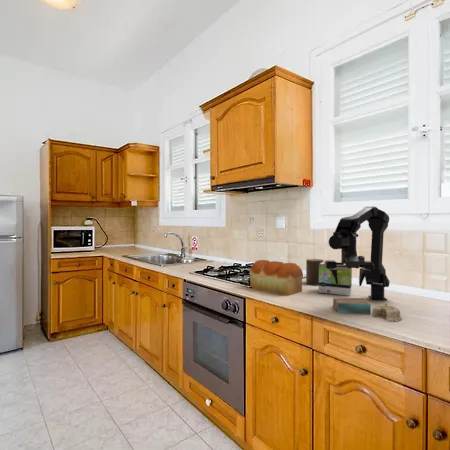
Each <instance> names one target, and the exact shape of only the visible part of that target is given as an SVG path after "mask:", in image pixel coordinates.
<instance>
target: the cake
mask: <svg viewBox="0 0 450 450" xmlns="http://www.w3.org/2000/svg"><path fill="white" fill-rule="evenodd" d="M372 312H373V313H372V314H371V315H372V317H373V318H374V316H375V317H382V318H385V317H386V318H385V321H386V320H389V322H398V321H402V320H403V319H402V316H401V312H400V309H399V308H398V307H396V306H392V305H388V304H387V303H385V304H384V305H383V304H380V305H379V304H378V305H376V306H374V308H373V309H372ZM390 320H392V321H390ZM394 320H395V321H394ZM396 320H397V321H396Z"/></svg>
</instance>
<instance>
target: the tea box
mask: <svg viewBox="0 0 450 450" xmlns="http://www.w3.org/2000/svg"><path fill="white" fill-rule="evenodd" d="M324 263H325V261H324V262H321V263H320V264H319V284H318V285H317V286H318V293H321V294H322V293H324V294H332V295H338V296H339V295H340V296H348V297H350V295H351V293H352V280H353V272H352V271H353V268H347V267H336V269H337V278H338V285H336V282H335V280H334V277H333V274H332V272H331V271H330V270H328V269H327V268H325V267H324ZM344 265H345V264H344Z"/></svg>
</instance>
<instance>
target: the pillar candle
mask: <svg viewBox="0 0 450 450" xmlns="http://www.w3.org/2000/svg"><path fill="white" fill-rule="evenodd" d="M305 261H306V264H305V265H306V267H305V268H306V269H305V271H306V274H305V275H306V276H305V279H306V280H305V282H306V284H308V285H312V286H318V284H319V264H320V263H321V262H325V260H324V259H320V258H319V259H317V258H308V259H306V260H305Z"/></svg>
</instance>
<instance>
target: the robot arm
mask: <svg viewBox="0 0 450 450" xmlns="http://www.w3.org/2000/svg"><path fill="white" fill-rule="evenodd" d="M364 222H368V228H369V229H370V230H371V245H370V248H371V249H370V261H369V260H365V256H364V255H358V253H357V238H358V237H359V236H360V235H359V234H358V233H357V232H358V231H359V230H360V229H361V228H362V227H361V225H362V224H363V223H364ZM389 222H390V216H389V214H388V213H387V212H385V211H383V210H381V209H379V208H378V207H377V206H371V205H370V206H365V207H363V209H361V210H359V211H358V212H356V213H355V214H353V215H351V216H345V217H341V218H340V219H339V221H338V223H337V225H336V228H335V230H334V231H333V232H332V235H331V236H330V237H329V239H328V246H329V248H331V249H332V250H340V251H341V252H340V253H341V255H340V256H341V259H340V262H339V261H338V262H337V261H336V260H329V259H328V260H327V259H326V260H324V262H325V263H324V267H325V268H327V269H328V270H330V271H331V272H332V274H333V277H334V280H335V282H336V285H338V278H337V269H336V267H347V268H352V269H359V273H358V274H359V277H358V285H359V287H361V286H362V284H363V282H364V280H365V282H366V285H369V286H370V295H367V297H368V298H369V299H371V300H373V301H375V300H377V301H378V300H379V301H387V300H388V299H387V298H386V297H385V288H389V286H390V283H391V282H390V280H389V278H388V276H387V274H386V273H387V272H386V268H385V266H384V264H383V251H384V233H385V231H386V230H387V228H388V227H389ZM344 264H345V265H344Z"/></svg>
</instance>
